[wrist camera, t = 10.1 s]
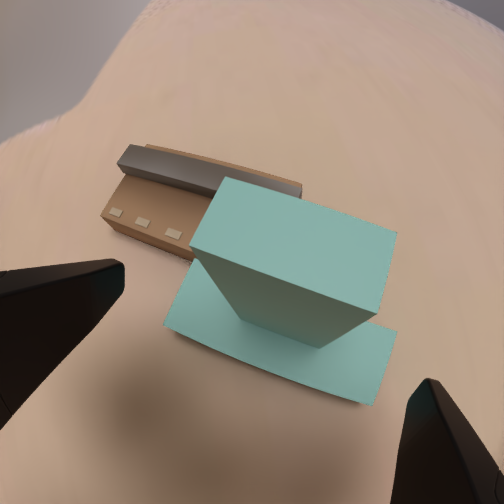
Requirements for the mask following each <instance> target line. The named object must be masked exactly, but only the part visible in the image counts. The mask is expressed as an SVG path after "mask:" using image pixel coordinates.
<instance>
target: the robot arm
mask: <svg viewBox="0 0 504 504" xmlns="http://www.w3.org/2000/svg"><path fill="white" fill-rule="evenodd" d="M124 287H125V267H124V264H123V263H122V262H120V261H117V260H115V259H102V260H93V261H85V262H76V263H67V264H59V265H50V266H42V267H33V268H25V269H17V270H9V271H0V430H1V429H2V428H3V427H4V425H5V424H6V423H7V422H8V421H9V420H10V418H11V417H12V415H14V413H15V412H16V411H17V410H18V409H19V408H20V407H21V405H22V404H23V403H24V402H25V401H26V400H27V399H28V398H29V396H30V395H31V394H32V393H33V392H34V391H35V390H36V389H37V388H38V387H39V385H40V384H41V383H42V382H43V381H44V380H45V379H46V378H47V377H48V376H49V375H50V373H51V372H52V371H53V370H54V369H55V368H56V367H57V366H58V365H59V364H60V363H61V362H62V361H63V360H64V359H65V358H66V356H67V355H68V354H69V353H70V352H71V351H72V350H73V349H74V348H75V347H76V346H77V345H78V344H79V343H80V342H81V341H82V340H83V339H84V338H85V337H86V336H87V335H88V334H89V333H90V332H91V331H92V330H93V329H94V327H95V326H96V325H97V324H98V323H99V322H100V320H101V319H102V318H103V317H104V315H105V314H106V313H107V312H108V310H109V309H110V308H111V307H112V306H113V304H114V303H115V302H116V301H117V299H118V298H119V297H120V296H121V295H122V293H123V291H124ZM390 504H504V475H503V473H502V472H501V470H499V467H498V466H497V464H496V462H495V461H494V459H493V458H492V456H491V455H490V453H489V452H488V450H487V449H486V447H485V445H484V444H483V442H482V441H481V439H480V438H479V437H478V435H477V434H476V432H475V431H474V429H473V428H472V426H471V425H470V423H469V422H468V420H467V419H466V418H465V416H464V415H463V413H462V412H461V411H460V409H459V408H458V406H457V405H456V404H455V402H454V401H453V399H452V398H451V397H450V395H449V394H448V393H447V391H446V390H445V388H444V387H443V386H442V384H441V383H440V382H439V381H438V380H434V379H430V378H426V379H424V380H423V381H422V382H421V384H420V385H419V386H418V388H417V389H416V390H415V392H414V393H413V394H412V395H411V397H410V398H409V400H408V403H407V407H406V413H405V419H404V424H403V429H402V434H401V439H400V444H399V449H398V455H397V463H396V470H395V477H394V484H393V490H392V496H391V501H390Z"/></svg>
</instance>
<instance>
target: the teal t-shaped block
mask: <svg viewBox="0 0 504 504" xmlns="http://www.w3.org/2000/svg"><path fill="white" fill-rule="evenodd" d="M396 236H397V232H394V231H391V230H389V229H386V228H383V227H381V226H378V225H375V224H372V223H370V222H367V221H364V220H361V219H359V218H356V217H353V216H350V215H347V214H344V213H341V212H338V211H336V210H333V209H330V208H327V207H324V206H321V205H318V204H315V203H312V202H308V201H305V200H302V199H299V198H296V197H293V196H290V195H286V194H283V193H280V192H277V191H273V190H270V189H267V188H263V187H260V186H257V185H253V184H250V183H246V182H243V181H239V180H236V179H232V178H229V177H225V178H224V180H223V181H222V183H221V185H220V187H219V189H218V190H217V192H216V194H215V196H214V198H213V200H212V202H211V203H210V205H209V207H208V209H207V211H206V213H205V215H204V217H203V218H202V220H201V222H200V224H199V226H198V228H197V230H196V232H195V234H194V236H193V238H192V240H191V242H190V244H189V247H190V248H191V250H192V251H193V253H194V254H195V255H196V257H197V258H198V259H196V258H194V260H193V262H192V264H191V266H190V268H189V270H188V273H187V275H186V277H185V279H184V281H183V283H182V285H181V287H180V289H179V291H178V293H177V295H176V298H175V300H174V302H173V304H172V306H171V308H170V310H169V313H168V315H167V317H166V319H165V321H164V323H163V325H164V326H166V327H168V328H170V329H172V330H174V331H176V332H178V333H180V334H182V335H184V336H187V337H189V338H191V339H193V340H195V341H197V342H200V343H202V344H204V345H206V346H208V347H211V348H213V349H215V350H217V351H220V352H222V353H224V354H227V355H229V356H231V357H234V358H236V359H238V360H241V361H243V362H246V363H248V364H251V365H253V366H256V367H258V368H261V369H263V370H266V371H268V372H271V373H274V374H276V375H279V376H282V377H284V378H287V379H290V380H292V381H295V382H298V383H301V384H304V385H307V386H309V387H312V388H315V389H318V390H321V391H324V392H327V393H330V394H333V395H337V396H340V397H343V398H346V399H349V400H353V401H356V402H359V403H363V404H366V405H370V406H372V405H373V403H374V400H375V397H376V395H377V392H378V389H379V387H380V384H381V381H382V378H383V375H384V372H385V370H386V367H387V363H388V360H389V357H390V354H391V351H392V348H393V344H394V341H395V338H396V334H397V331H394V330H391V329H388V328H385V327H382V326H379V325H376V324H373V323H370V322H367V320H368V319H370V318H371V317H373V316H374V315H376V314H377V313H378V309H379V306H380V302H381V299H382V295H383V291H384V287H385V284H386V280H387V276H388V272H389V267H390V263H391V259H392V255H393V250H394V245H395V241H396Z"/></svg>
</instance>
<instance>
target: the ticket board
mask: <svg viewBox="0 0 504 504" xmlns="http://www.w3.org/2000/svg"><path fill="white" fill-rule="evenodd" d="M117 165H118V166H119V168H120V169H121V170H122V172H123V173H125V174H126V175H125V176H124V178H123V179H122V181H121V182H120V184H119V186H118V187H117V189H116V190H115V192H114V193H113V195H112V197H111V198H110V200H109V201H108V203H107V205H106V206H105V208H104V210H103V211H102V213H101V215H100V216H101V217H102V218H103V219H104V220H105V221H106V222H107V223H108V224H109V225H110V226H111V227H112V228H113V229H114V230H116V231H118V232H121V233H123V234H125V235H128V236H130V237H133V238H135V239H137V240H140V241H142V242H145V243H147V244H150V245H152V246H155V247H157V248H160V249H162V250H164V251H167V252H169V253H172V254H174V255H177V256H179V257H182V258H184V259H187V260H190V261H192V262H193V260H194V258H196V259H198V258H197V257H196V255H195V254H194V253H193V251H192V250H191V248H190V247H189V244H190V242H191V240H192V238H193V236H194V234H195V232H196V230H197V228H198V226H199V224H200V222H201V220H202V218H203V217H204V215H205V213H206V211H207V209H208V207H209V205H210V203H211V202H212V200H213V198H214V196H215V194H216V192H217V190H218V189H219V187H220V185H221V183H222V181H223V180H224V178H225V177H229V178H232V179H236V180H239V181H243V182H246V183H250V184H253V185H257V186H260V187H263V188H267V189H270V190H273V191H277V192H280V193H283V194H286V195H290V196H293V197H296V198H299V199H301V197H302V184H301V183H298V182H294V181H291V180H288V179H284V178H281V177H278V176H274V175H271V174H267V173H264V172H260V171H257V170H253V169H249V168H246V167H242V166H238V165H235V164H231V163H227V162H223V161H219V160H215V159H211V158H207V157H203V156H199V155H194V154H190V153H186V152H181V151H177V150H173V149H168V148H163V147H159V146H154V145H149V144H146V146H145V147H142V146H137V145H132V144H130V145H129V146H128V148H127V149H126V151H125V152H124V153H123V155H122V156H121V158H120V159H119V160H118V162H117Z"/></svg>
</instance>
